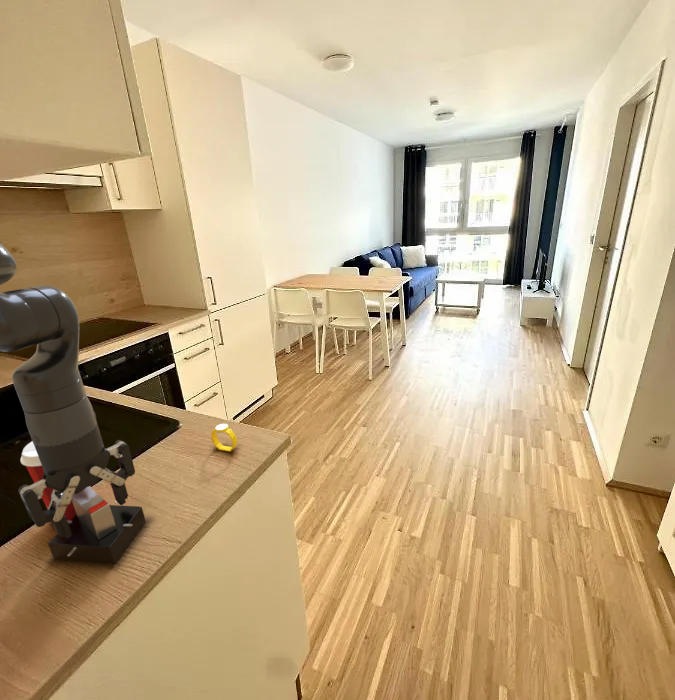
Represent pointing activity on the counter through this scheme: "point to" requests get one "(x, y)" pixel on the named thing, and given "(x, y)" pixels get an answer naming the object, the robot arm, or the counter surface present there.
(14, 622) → the counter surface
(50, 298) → the robot arm
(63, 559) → the black square block
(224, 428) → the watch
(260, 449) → the counter surface
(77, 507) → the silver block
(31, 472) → the coffee cup
